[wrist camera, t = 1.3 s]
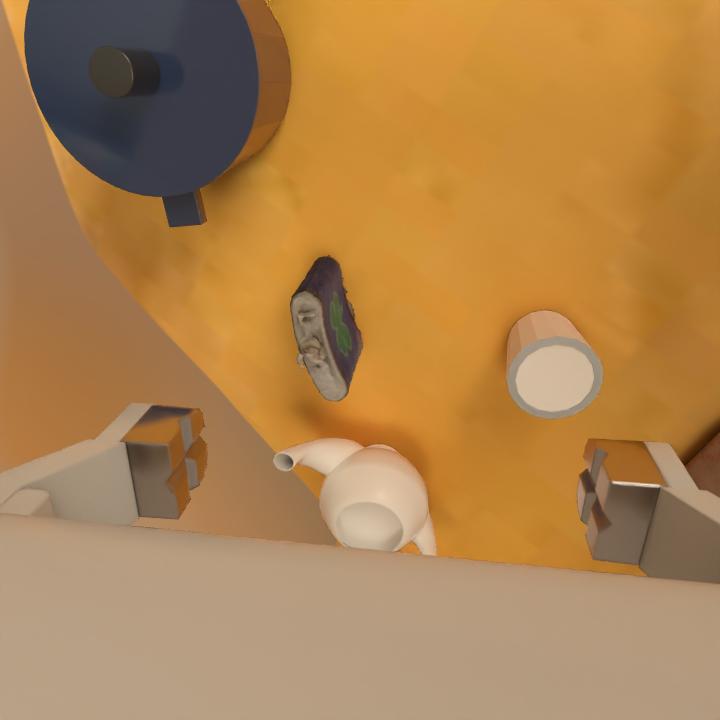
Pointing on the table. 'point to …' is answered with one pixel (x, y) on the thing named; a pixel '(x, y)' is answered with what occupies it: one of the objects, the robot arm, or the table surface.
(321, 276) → the flask
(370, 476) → the teapot
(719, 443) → the food item
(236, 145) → the pot lid
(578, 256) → the table surface
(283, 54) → the pot
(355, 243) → the table surface
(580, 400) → the tan cup
